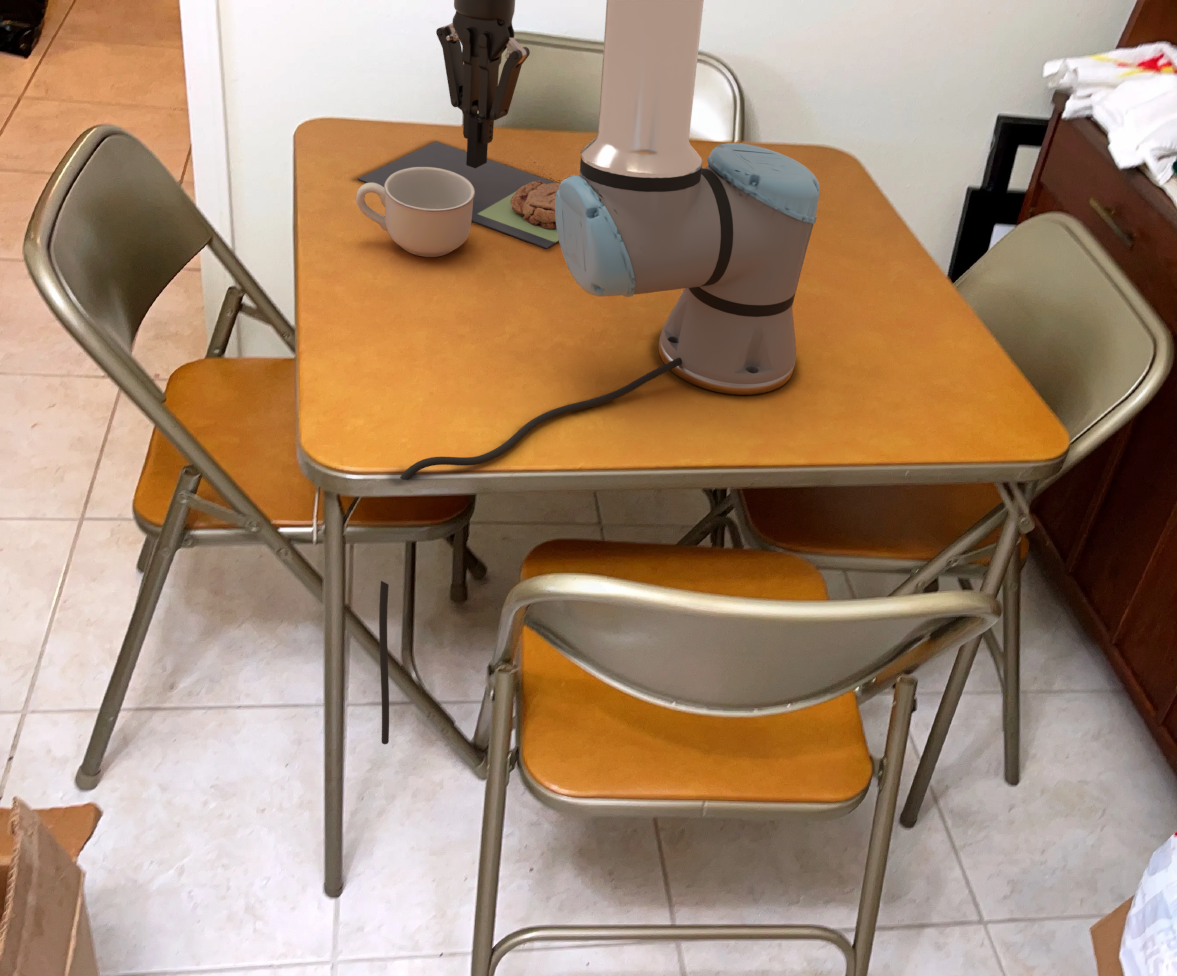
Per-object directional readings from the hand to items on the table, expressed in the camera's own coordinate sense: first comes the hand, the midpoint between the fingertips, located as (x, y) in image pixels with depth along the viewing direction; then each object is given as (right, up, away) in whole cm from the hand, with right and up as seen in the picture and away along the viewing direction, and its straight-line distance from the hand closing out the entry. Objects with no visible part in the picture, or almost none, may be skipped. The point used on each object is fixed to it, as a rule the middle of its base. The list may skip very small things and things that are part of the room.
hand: (476, 163), depth 152 cm
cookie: (+10, -7, -2) cm, 12 cm away
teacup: (-6, -14, -13) cm, 20 cm away
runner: (+1, -3, +1) cm, 4 cm away
